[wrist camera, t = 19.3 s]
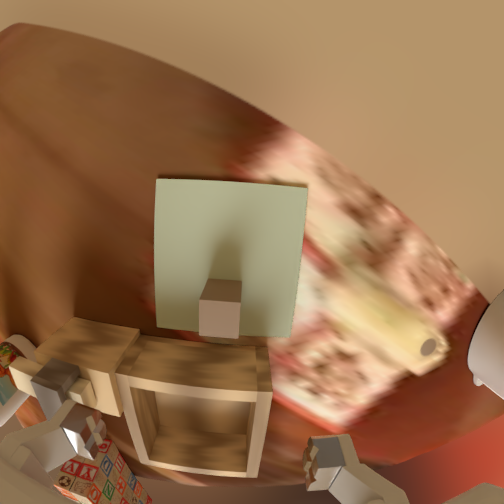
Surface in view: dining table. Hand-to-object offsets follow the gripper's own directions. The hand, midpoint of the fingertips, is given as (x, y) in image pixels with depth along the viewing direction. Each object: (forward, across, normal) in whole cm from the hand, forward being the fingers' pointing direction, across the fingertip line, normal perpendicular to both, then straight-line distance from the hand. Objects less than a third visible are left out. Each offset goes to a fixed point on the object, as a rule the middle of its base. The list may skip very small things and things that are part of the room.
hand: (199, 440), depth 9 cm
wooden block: (+9, +16, +8) cm, 19 cm away
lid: (+18, +1, -2) cm, 18 cm away
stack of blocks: (+17, +19, +38) cm, 45 cm away
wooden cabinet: (+17, +7, +13) cm, 22 cm away
